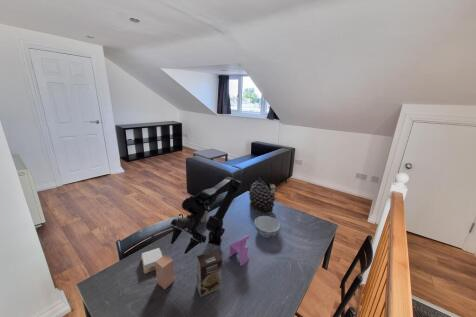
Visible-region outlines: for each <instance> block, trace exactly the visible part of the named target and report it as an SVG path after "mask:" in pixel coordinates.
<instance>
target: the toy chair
mask: <svg viewBox="0 0 476 317" xmlns="http://www.w3.org/2000/svg"><path fill="white" fill-rule="evenodd" d="M249 238H250V235H249V234H246V235H245V236H243V237H241V238H240V239H238V240H236V241H235V242H233V243H231V244H230V245H229V255H228V257H232V256H233V255H234V254H236V253H237V254H238V256H239V258H240V264H239V267H242V266H243V265H244V264H246V263H247V262H248V261H250V258H249V255H248V253H249V246H248V245H247V240H248V239H249Z"/></svg>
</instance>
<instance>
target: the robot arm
mask: <svg viewBox="0 0 476 317" xmlns="http://www.w3.org/2000/svg"><path fill="white" fill-rule="evenodd" d="M243 189H244V184H243V181H240V180H238V179H235V178H233V177H230V176H226V177H225V178H224V179H223V180H221V181H220V182H219V183H217V184H216V185H214V186H213V187H211V188H206V189H204V190H202V191H200V192H199V193H198V194H196V195H195V196H194V195H190V196H189V197H187V198H185V199H184V200H183V201H182V204H181V208H182V209H183V210H184V211H186V212H187V213H189V214H187V216H185V217H177V218H173V219H172V220H171V222H170V224H171V228H172V236H171V241H170V244H171V245H173V244H174V243H175V242H176V241H177V239H178V238H179V236H180V235H181V233H182V232H183V231H185V232H187V233H188V234H190V235H192V237H189V238H190V241H189V243H188V245H187V247H185V248H186V249H185V250H184V252H183V253H184V254H185V255H186V254H187V253H189V252H190V251H191V250H193V249H194V248H195V247H196V246H198V245H199V244H202V243H203V244H205V243H206V241H207V236H206V235H204V234H202V233H201V232H198V229H197V228H198V226H199V225H200V224H202V222H201V219H202V217H203V216H204V214H205V212H206V211H208V212H210V208H209V209H208V207H210V206H212V205H213V204H214V203H215V202H216V201H217V198H218V196H219V195H221V194H222V193H223V192H225V191H226V190H227V192H226V194H225V196H224V198H223V199H222V201H221V203H220V204H219V207H218V209H217V211H216V212H215V214H214V215H210V216H209V217H208V219H207V220H206V224H205V229H206V230H207V231H208V244H210V245H215V246H220V245H221V243H222V239H223V237H222V236H223V235H224V233H225V231H226V229H225V228H223V226H224V221H223V220H224V218H225V216H226V214H227V212H228V210H229V208H230V206H231V205H232V203H233V200H234V199H235V197H237V195H239V194H240V193H241V192H242V190H243ZM200 218H201V219H200Z"/></svg>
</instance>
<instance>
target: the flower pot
mask: <svg viewBox="0 0 476 317" xmlns="http://www.w3.org/2000/svg"><path fill="white" fill-rule="evenodd" d="M208 209H209V210H210V206H208ZM208 212H209V211H206V212H205V214H204V216H203V217H202V219H201V218H200V219H201V223H205V222H207V217H208Z"/></svg>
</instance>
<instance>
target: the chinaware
mask: <svg viewBox="0 0 476 317" xmlns="http://www.w3.org/2000/svg"><path fill="white" fill-rule="evenodd" d="M254 226H255V230H256V231H257V234H259V235H260V236H261V237H263V238H267V239H268V238H271V237H273V236H275V235H276V234H277V233H278V232H279V230H280V228H281V224H280V222H279V220H277V219H276V218H275V217H272V216H270V215H262V216H261V215H259V216H258V217H256V218H255V219H254Z"/></svg>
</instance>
